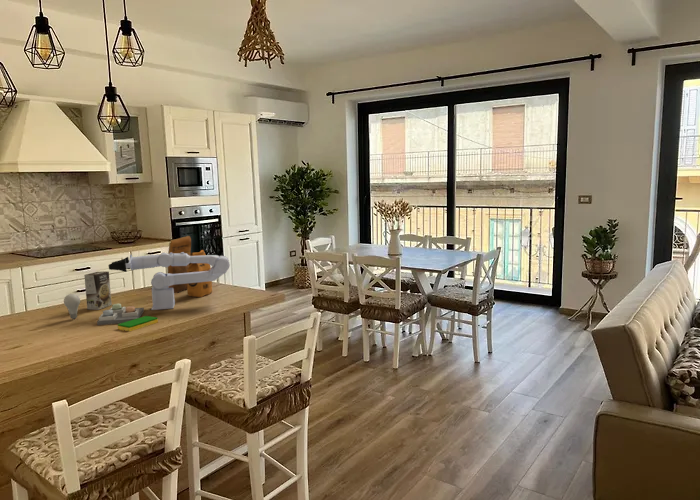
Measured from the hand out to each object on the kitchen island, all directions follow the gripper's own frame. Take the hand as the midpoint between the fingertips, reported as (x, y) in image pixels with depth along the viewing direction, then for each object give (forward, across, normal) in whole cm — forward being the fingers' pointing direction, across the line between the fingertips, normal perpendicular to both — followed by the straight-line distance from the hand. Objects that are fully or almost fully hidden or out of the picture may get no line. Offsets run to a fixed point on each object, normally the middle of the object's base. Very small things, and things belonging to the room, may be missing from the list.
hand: (110, 266), depth 223 cm
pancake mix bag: (-26, -36, +21) cm, 49 cm away
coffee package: (-35, -22, +22) cm, 47 cm away
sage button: (-1, +7, +18) cm, 20 cm away
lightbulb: (+16, +7, +20) cm, 27 cm away
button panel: (-4, +11, +21) cm, 24 cm away
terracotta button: (-8, +14, +19) cm, 25 cm away
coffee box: (+9, -12, +20) cm, 25 cm away
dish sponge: (-12, +26, +23) cm, 37 cm away
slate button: (0, +17, +19) cm, 25 cm away
